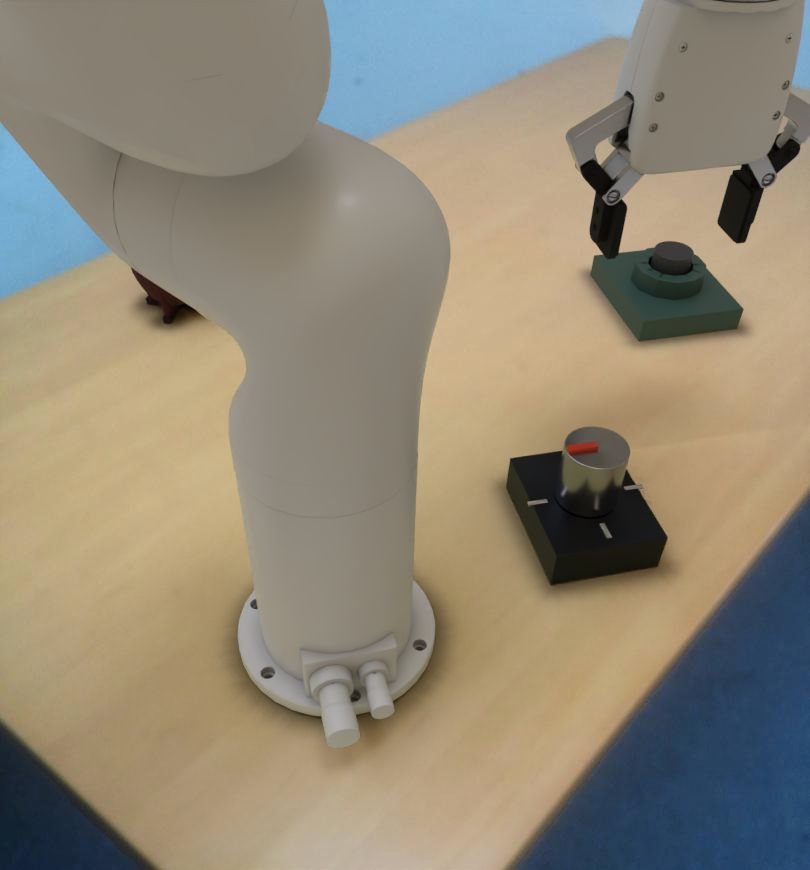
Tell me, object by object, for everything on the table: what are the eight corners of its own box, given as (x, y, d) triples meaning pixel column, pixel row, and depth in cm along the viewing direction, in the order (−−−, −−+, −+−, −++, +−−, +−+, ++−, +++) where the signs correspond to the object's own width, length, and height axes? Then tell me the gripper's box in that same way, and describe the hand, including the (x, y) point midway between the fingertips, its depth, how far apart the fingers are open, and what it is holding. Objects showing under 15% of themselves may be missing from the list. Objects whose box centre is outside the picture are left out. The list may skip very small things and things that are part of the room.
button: (695, 275, 81) (700, 257, 80) (660, 279, 81) (664, 262, 79) (678, 256, 84) (683, 239, 82) (644, 259, 83) (648, 242, 82)
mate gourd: (201, 330, 80) (172, 167, 69) (120, 320, 81) (79, 157, 70) (227, 288, 85) (204, 130, 74) (150, 279, 86) (116, 121, 75)
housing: (737, 329, 82) (750, 291, 79) (638, 341, 80) (648, 303, 77) (680, 265, 90) (690, 228, 87) (589, 275, 88) (596, 238, 85)
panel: (662, 566, 61) (673, 535, 59) (546, 586, 60) (552, 555, 57) (607, 472, 68) (615, 440, 65) (501, 488, 66) (506, 456, 64)
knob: (602, 470, 63) (615, 418, 60) (627, 512, 60) (642, 460, 57) (545, 479, 63) (555, 427, 59) (568, 522, 60) (579, 470, 56)
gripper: (837, -64, 53) (753, 204, 66) (568, -46, 51) (535, 229, 63) (910, -27, 48) (805, 254, 61) (617, -5, 46) (571, 284, 58)
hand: (668, 241), depth 62 cm, fingers open, 9 cm apart
